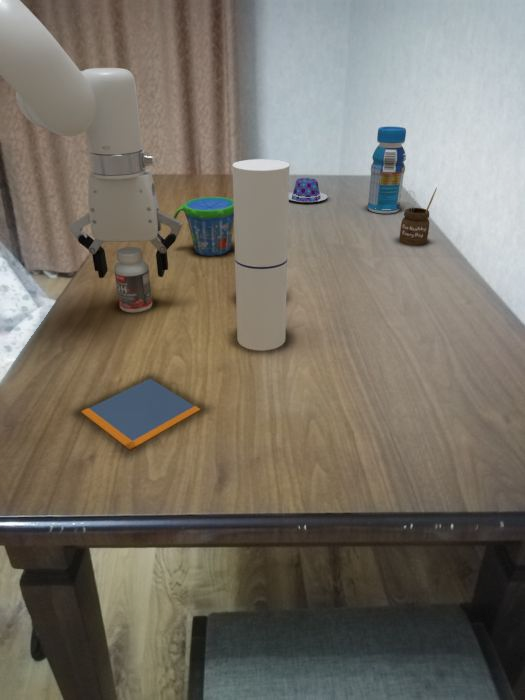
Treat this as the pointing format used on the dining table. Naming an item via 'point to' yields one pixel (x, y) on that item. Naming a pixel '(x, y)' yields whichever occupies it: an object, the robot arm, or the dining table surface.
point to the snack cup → (210, 224)
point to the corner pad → (140, 413)
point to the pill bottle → (132, 280)
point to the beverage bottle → (387, 170)
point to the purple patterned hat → (306, 191)
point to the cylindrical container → (261, 251)
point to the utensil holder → (415, 225)
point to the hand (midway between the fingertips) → (132, 274)
